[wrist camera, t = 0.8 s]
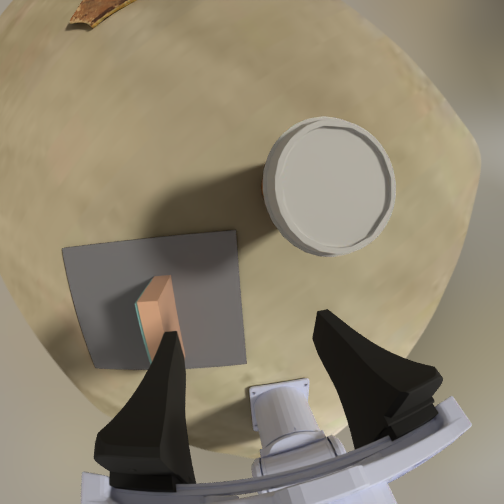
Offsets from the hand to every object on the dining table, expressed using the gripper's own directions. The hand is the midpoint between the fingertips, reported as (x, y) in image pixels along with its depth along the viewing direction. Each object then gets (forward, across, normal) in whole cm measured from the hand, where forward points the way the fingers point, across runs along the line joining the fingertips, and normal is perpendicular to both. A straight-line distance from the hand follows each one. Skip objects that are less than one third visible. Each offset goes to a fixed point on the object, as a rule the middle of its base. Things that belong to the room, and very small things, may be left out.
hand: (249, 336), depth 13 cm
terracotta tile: (+13, +6, +10) cm, 18 cm away
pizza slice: (+26, +13, -30) cm, 42 cm away
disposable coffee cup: (+17, -8, -3) cm, 18 cm away
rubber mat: (+14, +8, +9) cm, 19 cm away
